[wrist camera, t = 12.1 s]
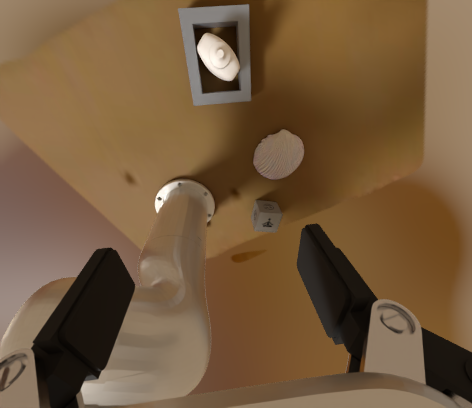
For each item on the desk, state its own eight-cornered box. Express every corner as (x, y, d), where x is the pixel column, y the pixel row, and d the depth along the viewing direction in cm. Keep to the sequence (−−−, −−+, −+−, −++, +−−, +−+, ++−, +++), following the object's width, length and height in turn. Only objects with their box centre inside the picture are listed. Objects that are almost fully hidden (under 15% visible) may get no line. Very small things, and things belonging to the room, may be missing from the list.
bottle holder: (248, 99, 34) (251, 100, 31) (195, 103, 33) (193, 105, 31) (245, 11, 28) (248, 4, 25) (181, 15, 27) (178, 8, 25)
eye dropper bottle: (223, 33, 29) (229, 8, 19) (237, 76, 32) (249, 74, 22) (196, 47, 29) (187, 30, 19) (213, 88, 32) (213, 91, 22)
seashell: (315, 129, 35) (308, 184, 38) (302, 129, 40) (297, 178, 43) (259, 128, 33) (256, 186, 37) (252, 129, 39) (251, 179, 42)
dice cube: (250, 217, 47) (254, 230, 43) (255, 199, 45) (259, 212, 40) (270, 219, 48) (276, 232, 44) (276, 201, 46) (282, 214, 41)
